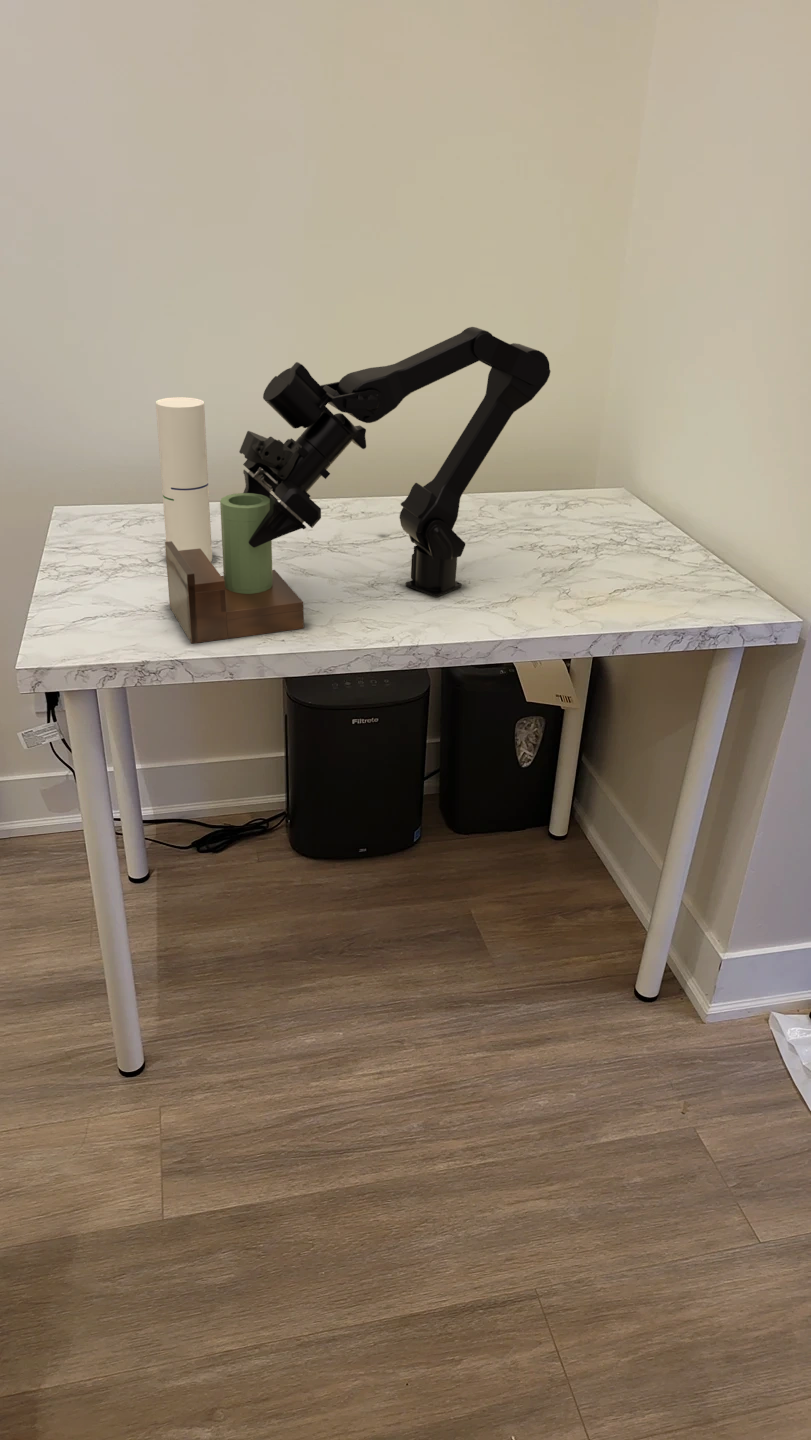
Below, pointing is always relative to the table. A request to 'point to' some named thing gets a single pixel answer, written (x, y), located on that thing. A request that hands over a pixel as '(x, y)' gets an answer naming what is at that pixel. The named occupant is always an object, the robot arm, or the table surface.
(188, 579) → the wooden l-shaped bookend
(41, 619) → the table surface
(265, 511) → the jar
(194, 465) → the cylindrical container
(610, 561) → the table surface
